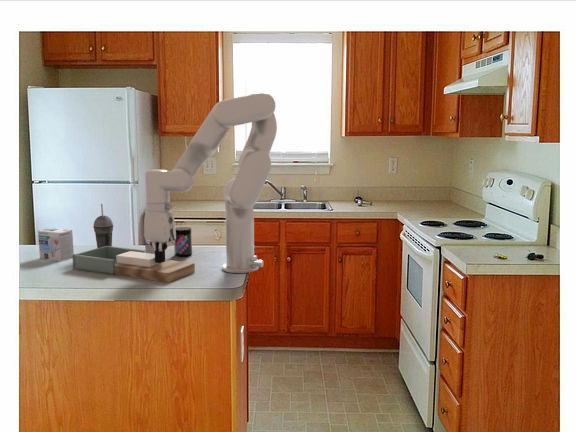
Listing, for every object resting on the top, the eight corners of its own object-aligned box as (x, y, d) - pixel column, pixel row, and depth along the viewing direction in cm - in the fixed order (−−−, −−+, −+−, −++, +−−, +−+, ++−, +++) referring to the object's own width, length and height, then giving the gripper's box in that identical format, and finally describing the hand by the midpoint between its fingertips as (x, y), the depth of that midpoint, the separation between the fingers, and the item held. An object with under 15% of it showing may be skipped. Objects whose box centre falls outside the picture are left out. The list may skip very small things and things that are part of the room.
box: (145, 264, 189) (144, 250, 188) (113, 275, 174) (112, 260, 174) (107, 258, 196) (106, 245, 196) (73, 269, 182) (72, 254, 181)
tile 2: (163, 262, 179) (162, 255, 179) (149, 267, 173) (149, 259, 173) (146, 260, 182) (146, 253, 182) (132, 264, 176) (132, 257, 176)
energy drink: (151, 260, 195) (150, 228, 193) (142, 257, 198) (141, 226, 196) (163, 257, 199) (162, 226, 197) (154, 255, 202) (152, 224, 200)
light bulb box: (39, 258, 197) (37, 230, 195) (53, 254, 203) (51, 227, 201) (61, 261, 193) (59, 232, 191) (74, 257, 199) (73, 229, 197)
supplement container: (171, 255, 202) (170, 228, 201) (186, 252, 207) (185, 226, 205) (180, 258, 198) (179, 230, 196) (195, 255, 202) (194, 228, 200)
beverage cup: (96, 259, 196) (93, 205, 193) (93, 255, 202) (90, 203, 199) (116, 257, 199) (113, 204, 196) (113, 253, 206) (110, 202, 202)
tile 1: (146, 260, 182) (146, 253, 182) (132, 264, 176) (132, 257, 176) (130, 258, 185) (130, 251, 185) (116, 262, 179) (116, 255, 178)
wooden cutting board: (194, 271, 179) (194, 263, 178) (168, 282, 166) (168, 273, 166) (143, 264, 188) (143, 256, 187) (115, 274, 175) (114, 265, 175)
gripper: (184, 207, 173) (185, 262, 176) (147, 204, 179) (149, 257, 182) (169, 210, 166) (171, 267, 169) (132, 207, 172) (134, 262, 175)
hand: (160, 261), depth 175 cm, fingers closed
